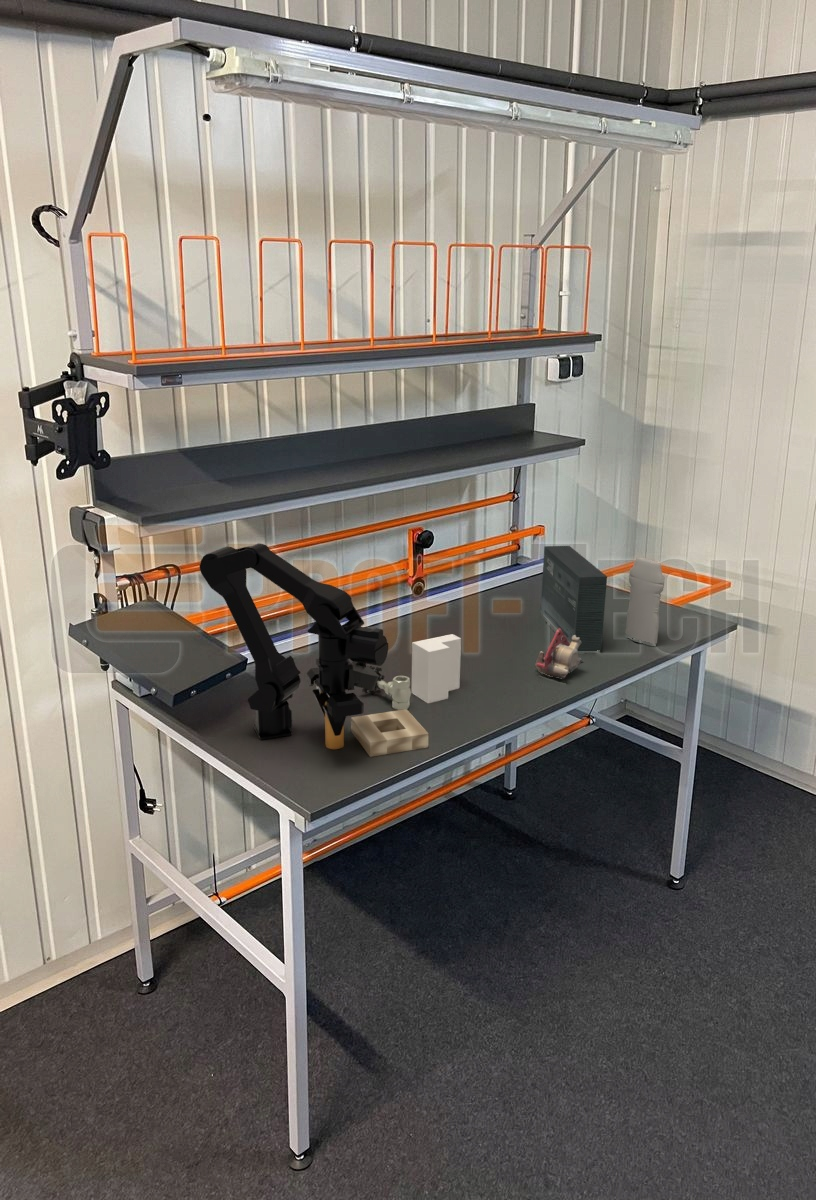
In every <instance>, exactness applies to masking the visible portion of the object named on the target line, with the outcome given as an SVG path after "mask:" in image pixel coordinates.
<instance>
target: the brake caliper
mask: <svg viewBox="0 0 816 1200" xmlns="http://www.w3.org/2000/svg"><path fill="white" fill-rule="evenodd" d="M561 637H562V640H561ZM579 639H580V638H579V637H578V638H577V637H576V635H573V637H572V642H571V643H569V642H568V640H567V638H566V636H565V635H564V633H563V632H562V630H561V629H560V628H559V629H557V631H556V633H555V632H554V636H553V637H552V640H551V642H550V643H549V646H548V648H547V651H546V653H544V651H542V650H541V651H539V653H538V655H537V659H536V661H535V665H534V666H535V668H536V669H537V671H538V672H539V671H540V672H543V673H545V674H547V675H550V676H553V677H559V678H562V679H563V680H565V678H566V677H567V676H568V673H569V672H571V673H572V672H574V670H576V669H577V668H578V667H579V666H580V665H581V664H583V663H585V660H584V659H582V658H581V657H579V656H580V654H578V648H579V646H580V644H581V643H582V642H581V641H580V640H579ZM569 674H570V673H569Z"/></svg>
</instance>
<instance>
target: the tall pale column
mask: <svg viewBox="0 0 816 1200" xmlns="http://www.w3.org/2000/svg"><path fill="white" fill-rule="evenodd" d="M628 574H629V575H628V580H629V581H628V583H629V584H630V586H629V600H628V602H629V603H628V604H629V605H628V609H627V611H626V621H625V632H624V634H625V633H626V634H627V635H629V636H631V637H633V638H635V639H637V640H641V641H646V642H650V643H654V644H655V643H657V644H658V638H659V637H658V636H659V627H660V626H659V625H660V616H659V615H660V614H659V613H660V605H661V597H662V594H661V593H663V591H664V589H665V587H664V586H665V576H664V575H663V572H662V564H661V563H659V562H657V561H654V560H652V559H650V558H644V557H643V558H641V557H635V560H634V562H633V566H632V567H631V568H630V569H629V573H628Z"/></svg>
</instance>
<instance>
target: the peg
mask: <svg viewBox="0 0 816 1200" xmlns="http://www.w3.org/2000/svg"><path fill="white" fill-rule="evenodd" d="M325 705H327V701H326V702H325ZM324 726H325V727H324V728H325V731H324V732H325V734H324V736H325V737H324V739H325V747H326V748H327V749H330V750H338V749H339V750H341V749H342V748H344V746H345V732H344V731H345V725H343V728H342V731H341V734H340V735H338V736H335V735H334V733H333V730H332V728H331V725H330V723H329V720H328V718H327V715H326V713H325V717H324Z"/></svg>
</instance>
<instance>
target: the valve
mask: <svg viewBox="0 0 816 1200" xmlns="http://www.w3.org/2000/svg"><path fill="white" fill-rule="evenodd" d="M369 667H370V668H371V669H373V670H374V671H375V672H376V673H377V674H378V679H377V682H376V685H375V687H374V690H373V691H370V690H368V689H365V688H362V690H361V691H362V693H363V694H366V695H367V694H368V693H369V694H370V695H375V694H376V691H378V690H381V689H382V690H384V692H385V694H386V695H387V696H390V697H391V698H392V701H391V702H392V708H393V709H394V710H396V711H397V710H404V709H407V710H408V709H409V708H410V706H411V705H410V701H411V699H410V698H411V696H412V693H411V692H412V689H411V688H410V686H411V678H410V677H409V676H405V675H397V676H394V677H393V678H392V681H388V682H386V681H385V675H384V674H382V673H381V672H382V670H383V668H381V667H380V666H377V667H375V666H374V665H370V666H369Z"/></svg>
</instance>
